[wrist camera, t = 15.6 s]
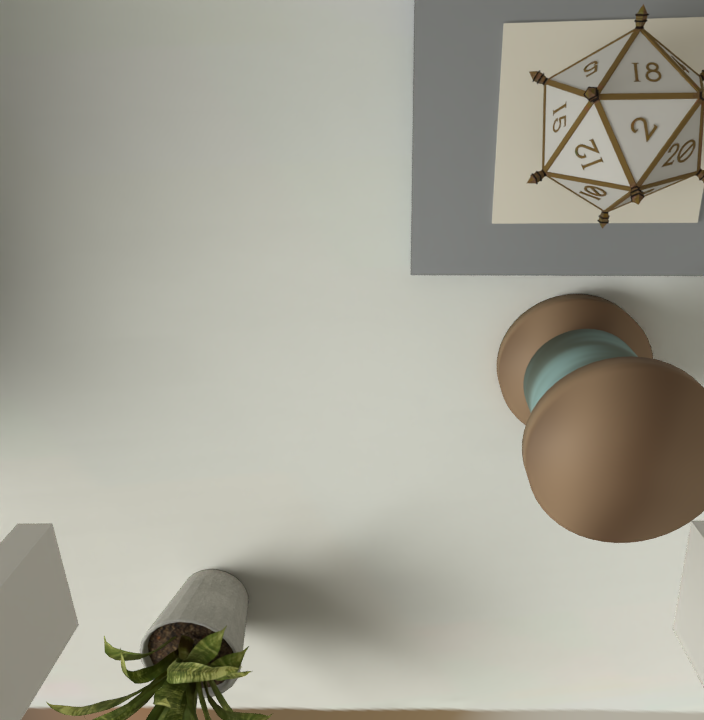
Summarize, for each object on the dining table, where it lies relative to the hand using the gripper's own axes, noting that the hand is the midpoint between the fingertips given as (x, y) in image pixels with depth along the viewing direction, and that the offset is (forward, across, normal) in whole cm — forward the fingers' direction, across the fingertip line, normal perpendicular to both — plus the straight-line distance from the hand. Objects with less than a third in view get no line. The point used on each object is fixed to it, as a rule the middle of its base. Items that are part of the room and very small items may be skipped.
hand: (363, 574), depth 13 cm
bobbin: (+27, +12, -6) cm, 30 cm away
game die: (+26, +12, +8) cm, 29 cm away
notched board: (+27, +12, +8) cm, 31 cm away
